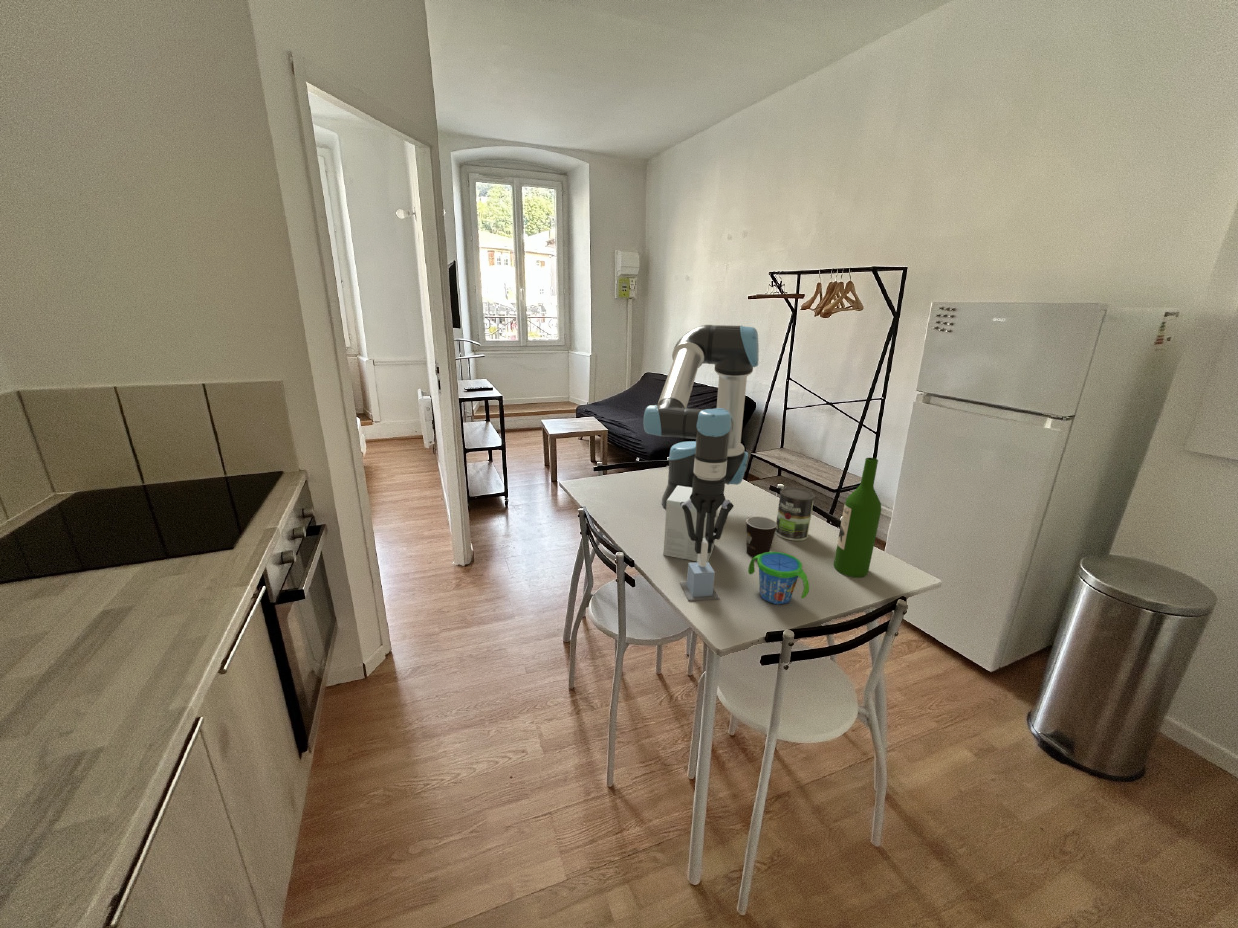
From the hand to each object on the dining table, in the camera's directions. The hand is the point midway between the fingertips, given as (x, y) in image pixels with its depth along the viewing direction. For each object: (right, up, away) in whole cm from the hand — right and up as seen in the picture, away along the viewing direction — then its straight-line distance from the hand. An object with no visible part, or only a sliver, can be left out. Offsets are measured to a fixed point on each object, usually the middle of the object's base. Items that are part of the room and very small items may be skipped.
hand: (701, 563), depth 123 cm
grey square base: (0, -7, +2) cm, 8 cm away
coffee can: (+35, +2, +36) cm, 50 cm away
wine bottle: (+44, -5, +15) cm, 47 cm away
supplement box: (0, -1, +24) cm, 24 cm away
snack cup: (+19, -9, +1) cm, 21 cm away
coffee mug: (+21, -1, +24) cm, 31 cm away
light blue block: (0, -7, +2) cm, 7 cm away
